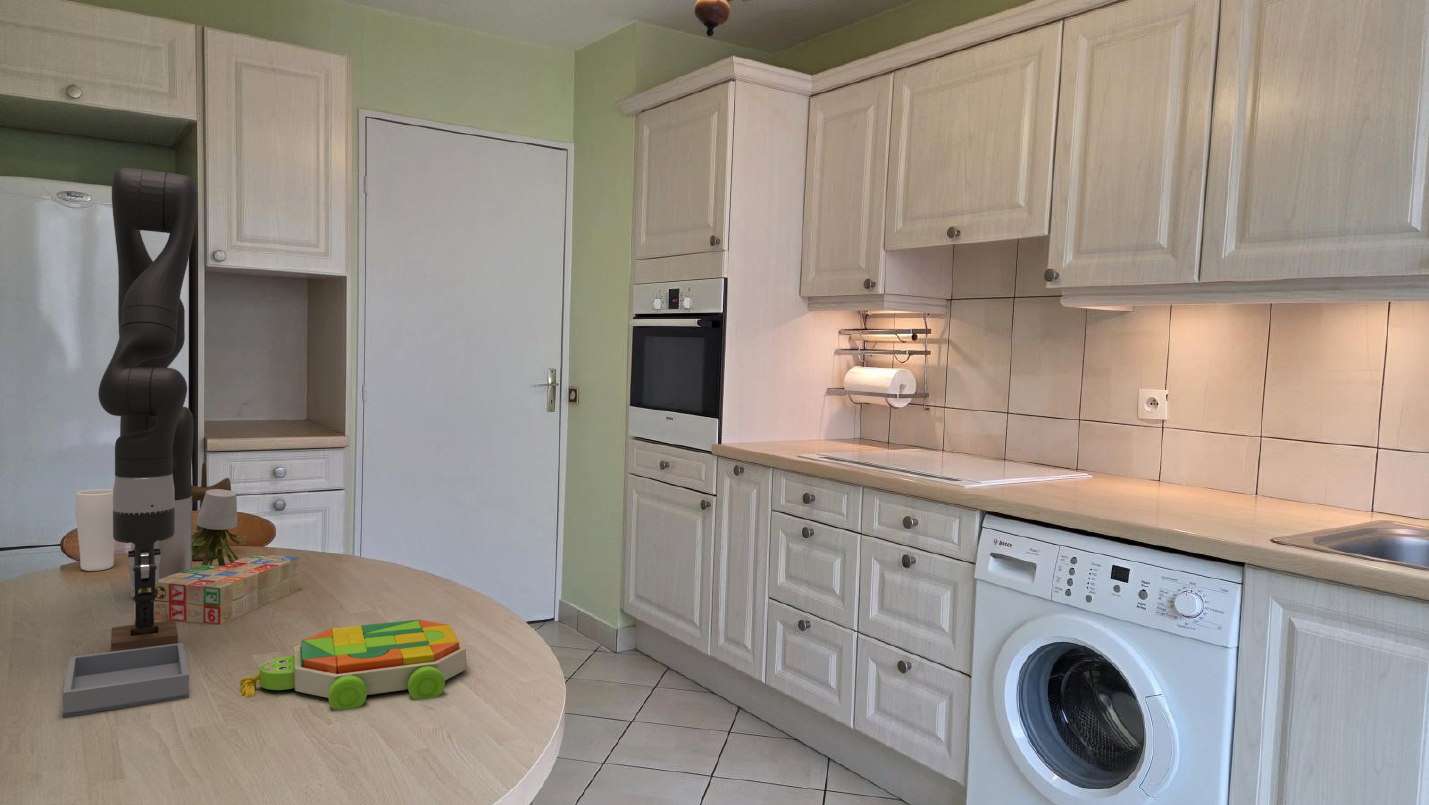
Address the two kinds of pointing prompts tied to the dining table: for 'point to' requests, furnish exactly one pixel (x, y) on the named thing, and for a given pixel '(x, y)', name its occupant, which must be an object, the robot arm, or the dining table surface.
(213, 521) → the house plant
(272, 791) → the dining table surface
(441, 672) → the wooden turtle toy
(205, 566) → the stack of blocks
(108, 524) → the drinking glass
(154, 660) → the pin tray
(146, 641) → the pin base
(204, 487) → the kendama
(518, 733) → the dining table surface
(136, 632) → the pin
